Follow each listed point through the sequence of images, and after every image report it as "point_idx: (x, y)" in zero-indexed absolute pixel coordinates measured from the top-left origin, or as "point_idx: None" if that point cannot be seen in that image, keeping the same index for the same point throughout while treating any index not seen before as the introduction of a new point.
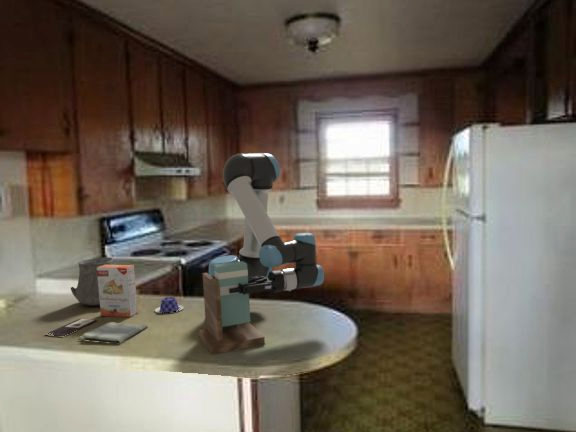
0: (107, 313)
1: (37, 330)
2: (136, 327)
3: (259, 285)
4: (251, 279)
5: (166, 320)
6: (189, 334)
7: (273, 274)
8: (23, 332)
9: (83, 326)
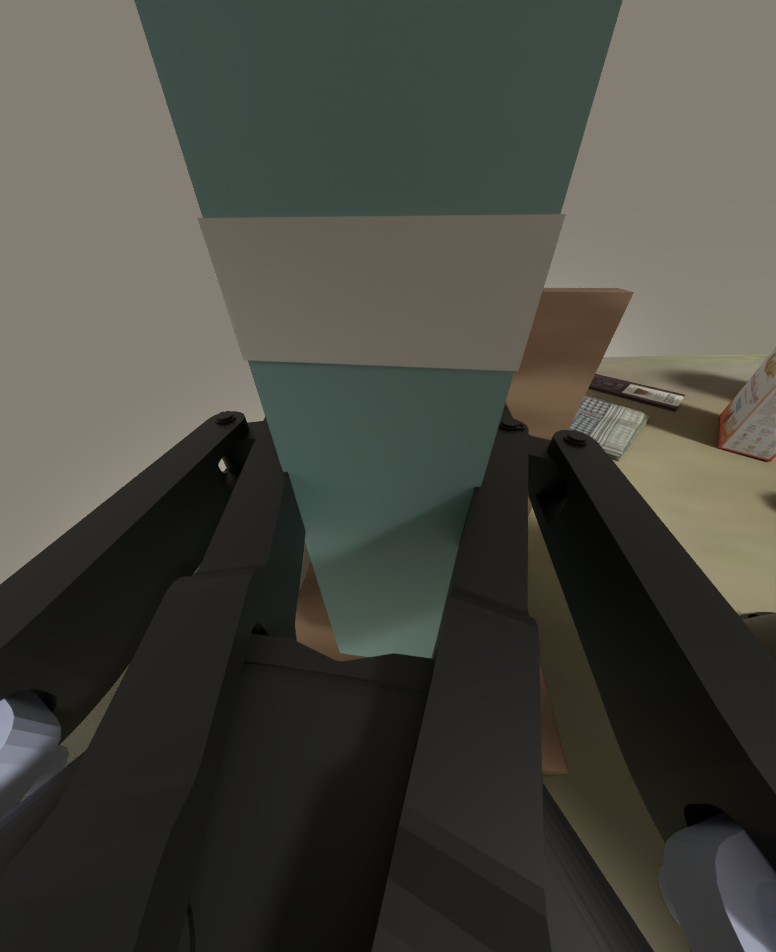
0: (724, 415)
1: (617, 371)
2: (593, 436)
3: (60, 553)
4: (504, 600)
5: (695, 501)
6: (529, 518)
7: None
8: (609, 364)
9: (629, 396)
